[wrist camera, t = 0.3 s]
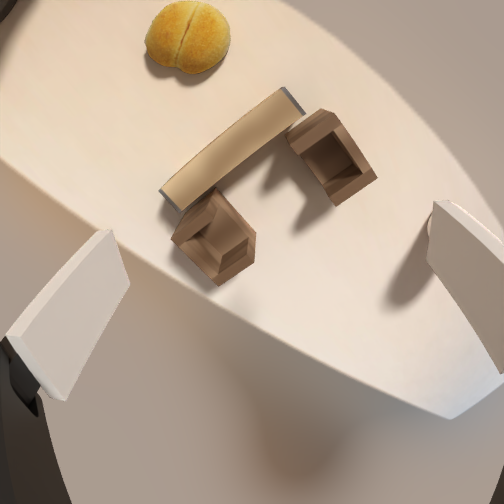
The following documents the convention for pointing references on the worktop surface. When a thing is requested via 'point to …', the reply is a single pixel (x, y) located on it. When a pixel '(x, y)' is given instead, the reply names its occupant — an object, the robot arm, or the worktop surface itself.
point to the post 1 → (216, 238)
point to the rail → (232, 148)
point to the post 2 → (331, 155)
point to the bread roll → (188, 36)
